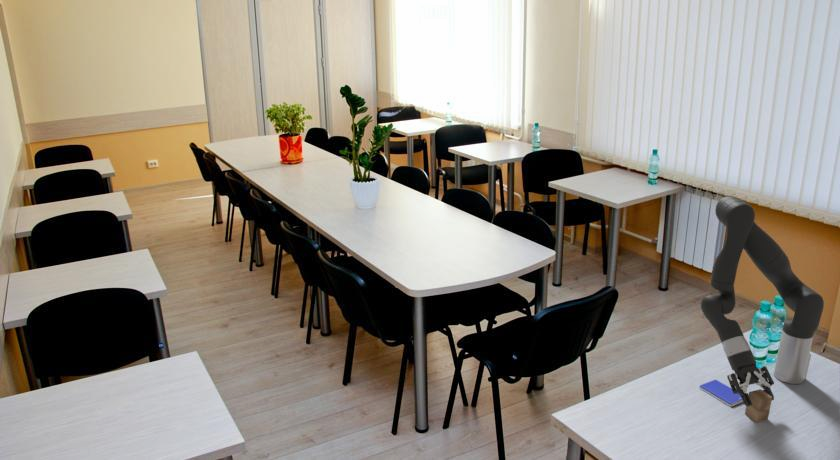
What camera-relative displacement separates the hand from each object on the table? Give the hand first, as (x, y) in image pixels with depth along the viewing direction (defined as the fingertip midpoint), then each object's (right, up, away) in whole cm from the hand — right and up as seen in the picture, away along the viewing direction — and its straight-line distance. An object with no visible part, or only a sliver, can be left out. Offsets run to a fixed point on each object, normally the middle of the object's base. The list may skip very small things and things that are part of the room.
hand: (760, 403), depth 213 cm
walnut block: (0, -5, +2) cm, 5 cm away
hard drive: (-5, -1, +15) cm, 16 cm away
